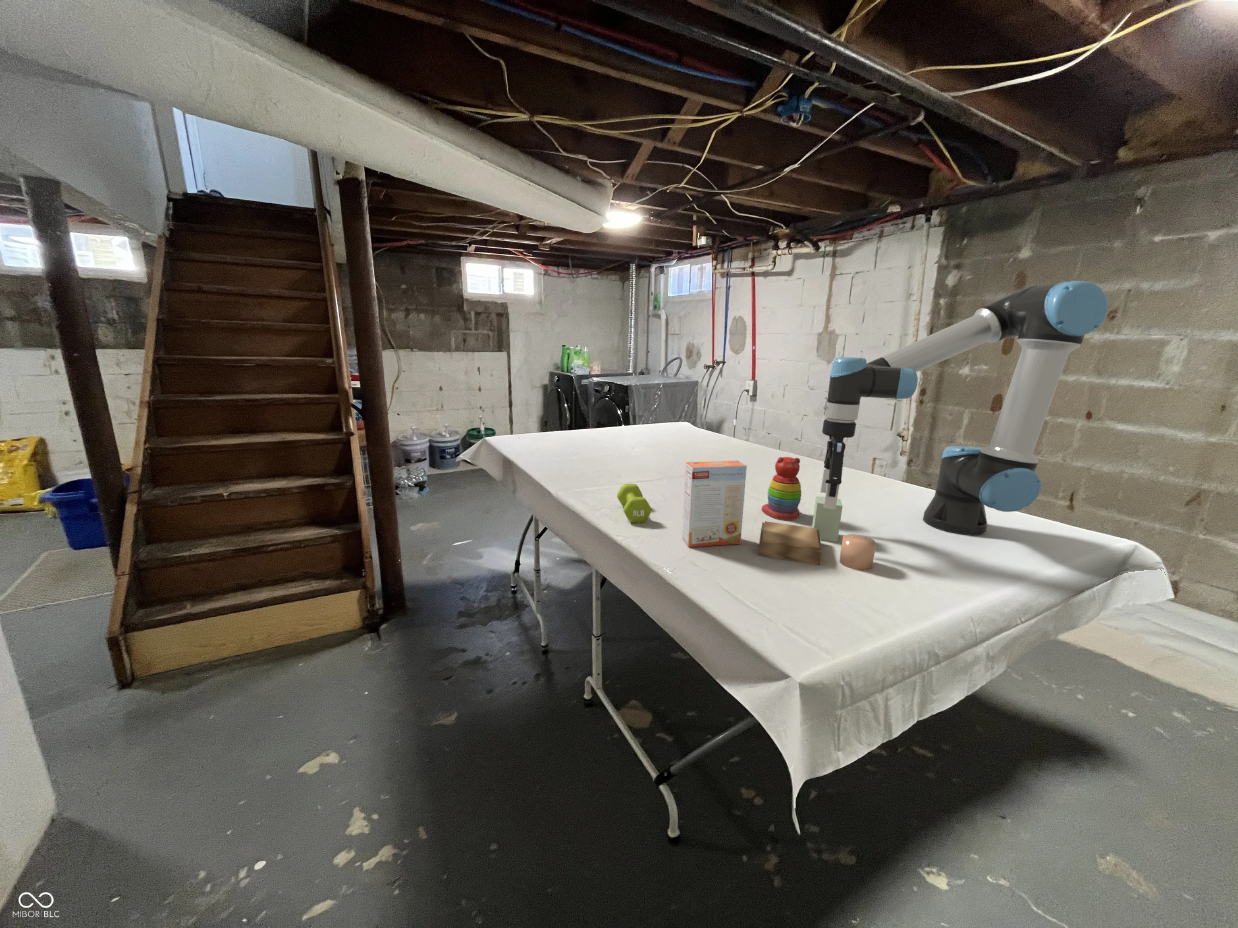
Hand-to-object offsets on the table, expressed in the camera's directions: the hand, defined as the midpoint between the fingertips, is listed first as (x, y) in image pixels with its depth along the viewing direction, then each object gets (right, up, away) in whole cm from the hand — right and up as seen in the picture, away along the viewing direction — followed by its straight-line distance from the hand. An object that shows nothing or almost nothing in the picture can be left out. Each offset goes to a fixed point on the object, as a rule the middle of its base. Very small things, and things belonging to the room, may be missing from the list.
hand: (827, 500), depth 127 cm
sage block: (0, -10, +3) cm, 10 cm away
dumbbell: (-51, -6, +16) cm, 53 cm away
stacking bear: (-6, -6, +18) cm, 20 cm away
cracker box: (-31, -11, -3) cm, 33 cm away
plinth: (-12, -12, -6) cm, 18 cm away
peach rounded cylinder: (+1, -14, -13) cm, 19 cm away
